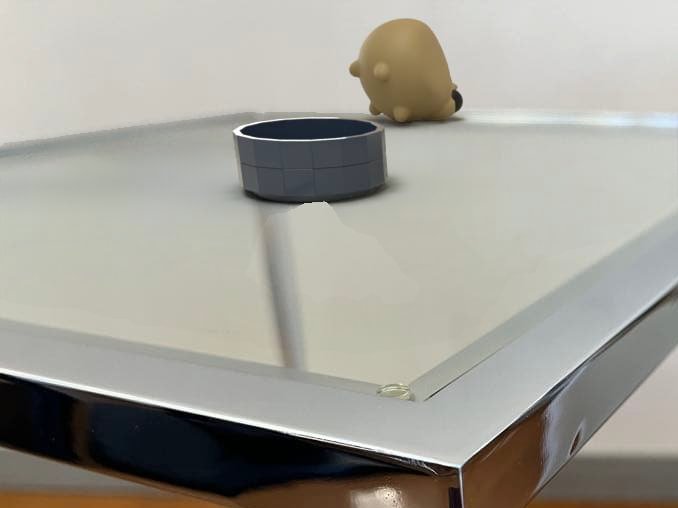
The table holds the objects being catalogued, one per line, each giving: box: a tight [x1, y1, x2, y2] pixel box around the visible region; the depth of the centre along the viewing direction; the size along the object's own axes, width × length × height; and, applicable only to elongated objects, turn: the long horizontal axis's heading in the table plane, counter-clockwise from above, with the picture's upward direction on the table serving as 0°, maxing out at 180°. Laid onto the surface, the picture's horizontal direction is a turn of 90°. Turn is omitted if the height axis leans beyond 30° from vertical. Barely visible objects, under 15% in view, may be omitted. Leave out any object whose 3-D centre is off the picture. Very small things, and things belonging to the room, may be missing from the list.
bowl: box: [232, 116, 389, 203], centre depth 70 cm, size 11×11×4 cm
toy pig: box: [348, 17, 464, 123], centre depth 99 cm, size 10×12×11 cm
